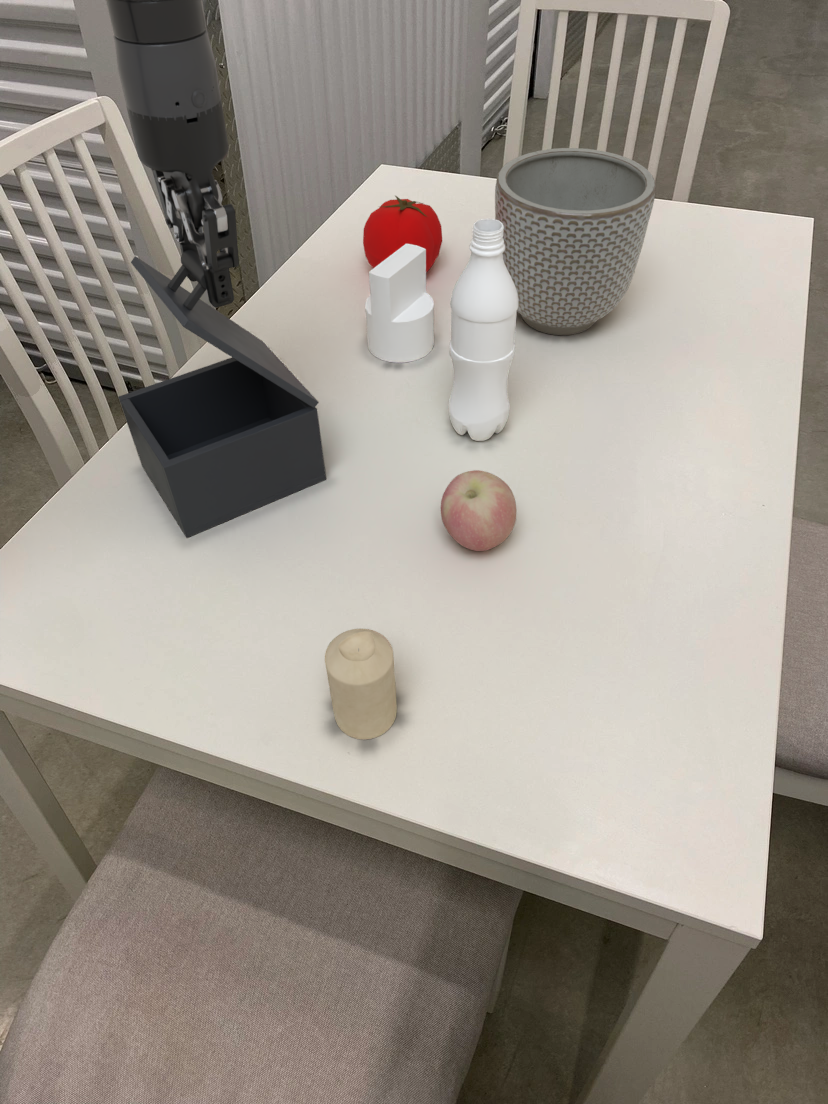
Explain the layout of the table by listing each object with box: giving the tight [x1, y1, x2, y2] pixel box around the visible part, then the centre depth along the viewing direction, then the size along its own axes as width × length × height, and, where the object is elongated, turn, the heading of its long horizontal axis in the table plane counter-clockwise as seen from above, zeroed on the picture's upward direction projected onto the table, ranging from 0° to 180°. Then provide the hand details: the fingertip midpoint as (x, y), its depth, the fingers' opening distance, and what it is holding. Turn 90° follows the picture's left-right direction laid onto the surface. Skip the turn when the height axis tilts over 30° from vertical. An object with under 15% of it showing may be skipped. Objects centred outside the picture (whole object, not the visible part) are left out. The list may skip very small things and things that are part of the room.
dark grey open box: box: [117, 357, 327, 539], centre depth 90 cm, size 17×14×10 cm
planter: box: [494, 147, 656, 336], centre depth 108 cm, size 20×20×19 cm
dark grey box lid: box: [130, 250, 320, 408], centre depth 82 cm, size 18×14×5 cm
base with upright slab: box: [364, 244, 435, 364], centre depth 106 cm, size 9×9×12 cm
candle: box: [324, 628, 398, 740], centre depth 68 cm, size 6×6×10 cm
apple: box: [440, 469, 517, 552], centre depth 83 cm, size 8×8×8 cm
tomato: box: [362, 195, 443, 273], centre depth 120 cm, size 12×12×11 cm
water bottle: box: [448, 218, 518, 442], centre depth 89 cm, size 7×7×25 cm
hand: (210, 290), depth 78 cm, fingers closed on dark grey box lid, 5 cm apart
